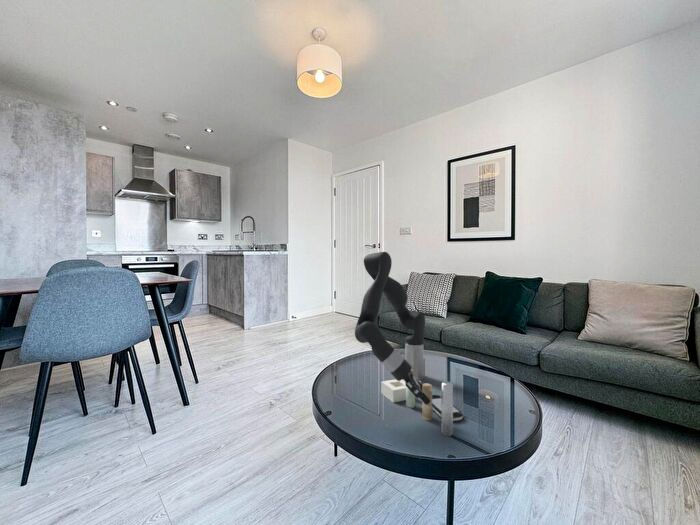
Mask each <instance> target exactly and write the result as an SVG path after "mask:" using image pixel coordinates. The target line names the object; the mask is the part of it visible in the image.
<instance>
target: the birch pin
mask: <svg viewBox="0 0 700 525" xmlns="http://www.w3.org/2000/svg"><path fill="white" fill-rule="evenodd" d="M421 384H422V391H423V393H424V394H425V395H426V396H427V397H428V398H429V399H430V402H429V403H428V404H427V405H426V404H425V403H424V402H423V401H422V400H421V405H422V406H421V408H422V409H421V412H422V413H421V418H422V419H423V420H425V421H432V420H433V410H432V395H433V385H432V384H431V383H421Z"/></svg>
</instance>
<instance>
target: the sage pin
mask: <svg viewBox="0 0 700 525" xmlns="http://www.w3.org/2000/svg"><path fill="white" fill-rule="evenodd" d="M405 406H406V408H409V409H412V408H415V407H416V397H415V395H414V394H413V393H412V392H411V391H410V390H409V389H408V388H407V387H406V400H405Z"/></svg>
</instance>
